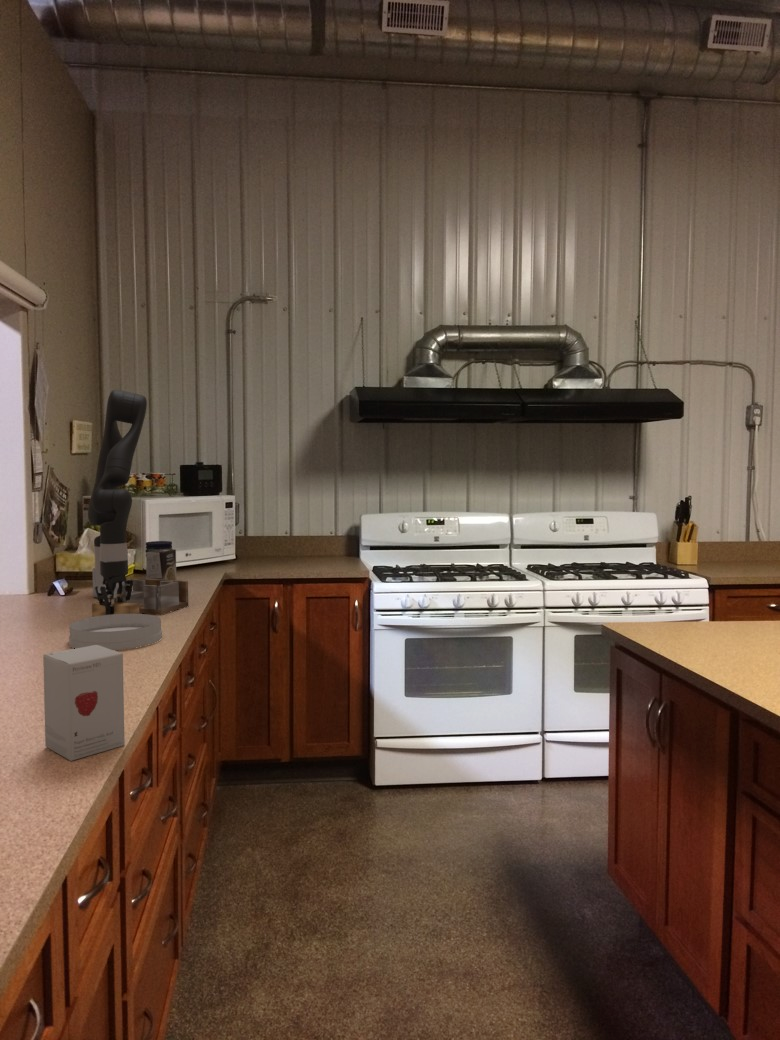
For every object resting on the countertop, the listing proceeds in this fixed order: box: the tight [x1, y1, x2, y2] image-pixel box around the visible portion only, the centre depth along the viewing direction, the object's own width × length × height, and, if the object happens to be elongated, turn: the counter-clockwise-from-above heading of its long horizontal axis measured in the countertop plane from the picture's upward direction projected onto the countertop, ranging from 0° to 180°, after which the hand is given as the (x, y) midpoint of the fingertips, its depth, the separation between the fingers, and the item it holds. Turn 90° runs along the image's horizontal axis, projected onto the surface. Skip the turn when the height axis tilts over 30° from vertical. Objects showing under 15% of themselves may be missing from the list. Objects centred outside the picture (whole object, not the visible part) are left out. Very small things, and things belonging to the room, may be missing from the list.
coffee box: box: [145, 548, 177, 580], centre depth 245 cm, size 9×6×16 cm
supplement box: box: [42, 645, 126, 762], centre depth 116 cm, size 9×9×15 cm
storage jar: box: [145, 540, 173, 553], centre depth 282 cm, size 10×10×15 cm
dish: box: [68, 613, 163, 651], centre depth 187 cm, size 22×22×5 cm
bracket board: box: [110, 578, 189, 615], centre depth 228 cm, size 18×14×8 cm
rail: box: [91, 601, 140, 617], centre depth 213 cm, size 13×4×4 cm, turn 72°
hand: (115, 617), depth 213 cm, fingers closed on rail, 4 cm apart
